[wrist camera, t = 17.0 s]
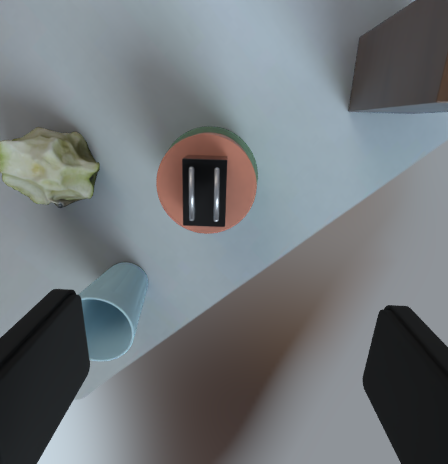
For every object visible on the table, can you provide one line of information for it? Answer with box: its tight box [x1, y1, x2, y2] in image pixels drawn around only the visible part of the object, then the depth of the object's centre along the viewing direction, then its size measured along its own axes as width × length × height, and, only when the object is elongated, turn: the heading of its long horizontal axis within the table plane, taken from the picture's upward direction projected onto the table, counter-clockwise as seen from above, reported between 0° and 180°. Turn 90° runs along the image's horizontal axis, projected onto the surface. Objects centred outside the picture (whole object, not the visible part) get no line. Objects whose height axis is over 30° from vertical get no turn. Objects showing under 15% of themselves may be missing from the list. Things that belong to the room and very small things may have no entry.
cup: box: [79, 262, 148, 361], centre depth 36 cm, size 8×8×10 cm
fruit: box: [0, 127, 99, 208], centre depth 33 cm, size 9×9×8 cm
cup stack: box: [157, 127, 258, 234], centre depth 30 cm, size 9×9×11 cm
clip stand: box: [348, 0, 448, 114], centre depth 25 cm, size 7×7×15 cm
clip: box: [182, 155, 228, 227], centre depth 24 cm, size 3×5×3 cm, turn 178°
